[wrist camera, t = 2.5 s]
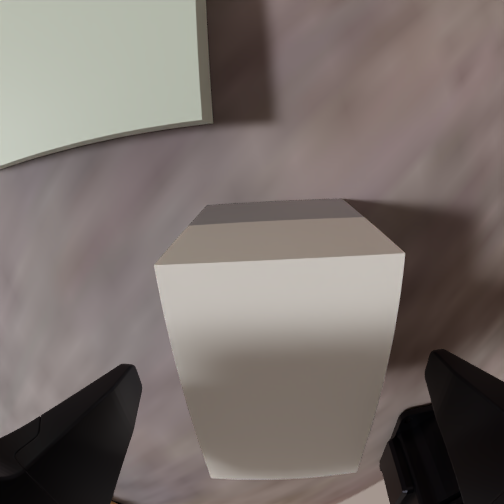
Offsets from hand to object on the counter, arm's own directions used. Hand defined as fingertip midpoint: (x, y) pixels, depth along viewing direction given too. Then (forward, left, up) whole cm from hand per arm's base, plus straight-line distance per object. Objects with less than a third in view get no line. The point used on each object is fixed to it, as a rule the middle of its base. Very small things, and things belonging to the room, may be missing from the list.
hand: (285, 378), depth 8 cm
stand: (+8, -13, -5) cm, 16 cm away
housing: (0, 0, -5) cm, 5 cm away
